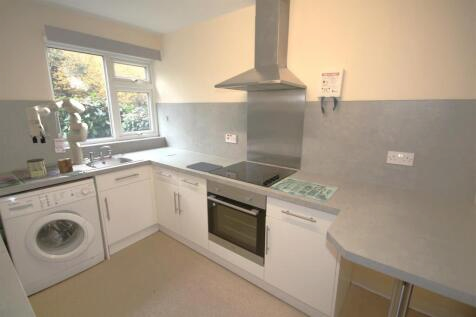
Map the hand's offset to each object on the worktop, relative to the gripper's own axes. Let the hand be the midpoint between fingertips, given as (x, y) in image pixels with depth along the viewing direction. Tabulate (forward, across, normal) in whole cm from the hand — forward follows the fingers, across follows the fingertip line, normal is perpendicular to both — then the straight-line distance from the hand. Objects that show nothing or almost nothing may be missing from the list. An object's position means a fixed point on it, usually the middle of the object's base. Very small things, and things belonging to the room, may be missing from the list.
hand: (39, 143), depth 183 cm
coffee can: (+27, -4, +8) cm, 28 cm away
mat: (+27, -26, -7) cm, 38 cm away
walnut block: (+27, -15, -7) cm, 32 cm away
